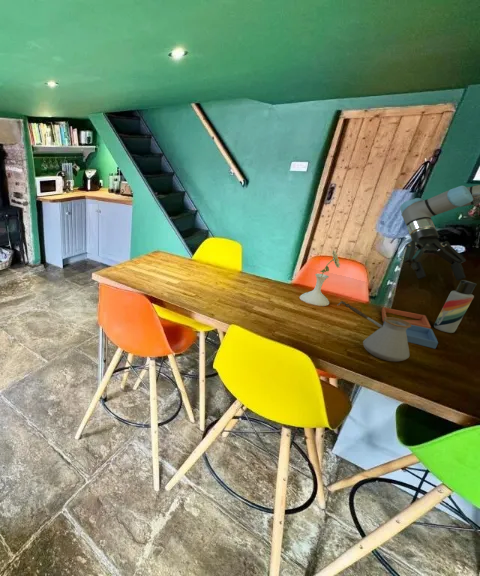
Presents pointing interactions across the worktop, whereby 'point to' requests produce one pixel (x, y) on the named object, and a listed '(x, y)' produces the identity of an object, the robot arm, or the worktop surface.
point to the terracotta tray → (422, 322)
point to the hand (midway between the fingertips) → (441, 278)
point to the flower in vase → (319, 287)
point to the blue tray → (421, 336)
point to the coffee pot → (387, 338)
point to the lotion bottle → (455, 307)
